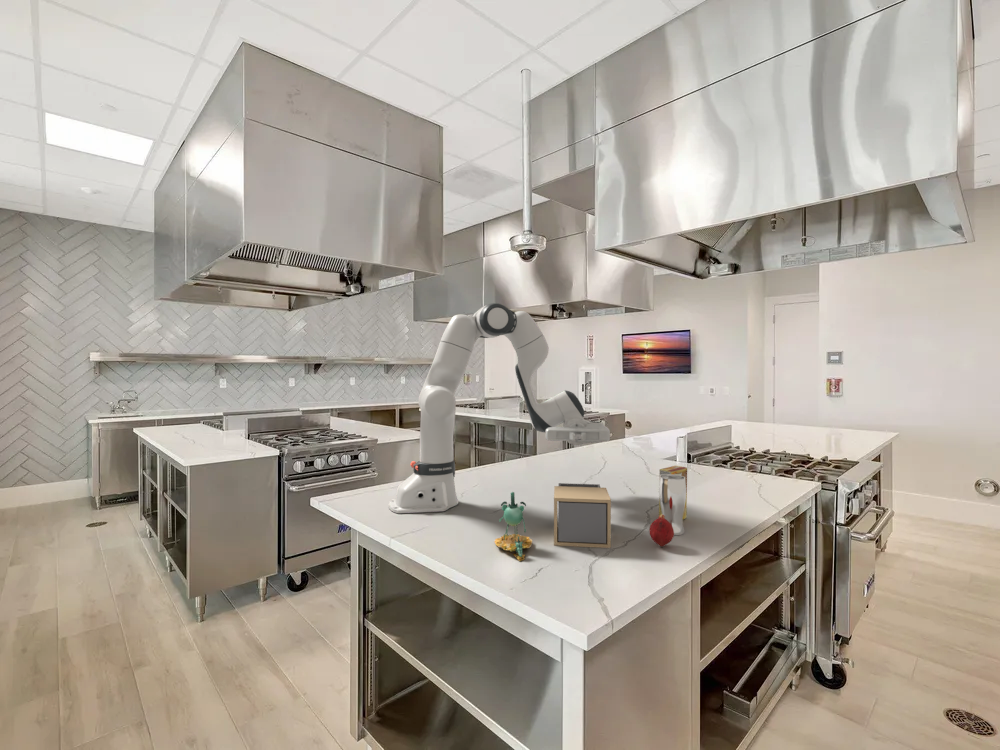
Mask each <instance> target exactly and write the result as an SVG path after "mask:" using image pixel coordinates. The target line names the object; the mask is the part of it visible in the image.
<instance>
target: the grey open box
mask: <svg viewBox="0 0 1000 750" xmlns="http://www.w3.org/2000/svg"><path fill="white" fill-rule="evenodd" d="M558 486H567V487H600V488H602V487H601V486H600V484H598V483H597V484H595V483H591V484H590V483H569V482H568V483H566V482H565V483H561V482H559V483H558ZM557 526H558V541H564V542H586V543H606V503H594V502H565V501H557Z"/></svg>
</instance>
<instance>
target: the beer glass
mask: <svg viewBox="0 0 1000 750" xmlns="http://www.w3.org/2000/svg"><path fill="white" fill-rule="evenodd" d="M659 475H660V474H659ZM658 486H659V487H658V500H659V499H660V506H661V511H662V514H663V515H664V516H665V517H664V518H665V519H666V520H667V521H669V522H670V524H671V525H672V527H673V530H674V536H681V535H684V533H685V529H684V522H683V521H684V519H683V512H684V507H685V501H686V483H685V477H684V476H680V475H674V474H663V475H660V482H659V481H658Z"/></svg>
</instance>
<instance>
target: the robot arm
mask: <svg viewBox="0 0 1000 750" xmlns="http://www.w3.org/2000/svg"><path fill="white" fill-rule="evenodd" d="M500 336H504V337H506V338H507V339H508V340H509V342H510V343H511V346H512V347H513V349H514V351H515V353H516V357H517V364H516V365H515V367H514V368H515V369H514V370H515V375H516V378H517V382H518V385H519V387H520V390H521V394H522V396H523V399H524V401H525V406H526V409H527V412H528V416H529V422H530V424H531V425H532V427H533V429H534V430H535V431H537V432H539V433H540V432H541V433H545V440H546V441H552V442H553V441H556V442H557V441H559V442H560V441H561V442H562V441H563V442H564V441H565V442H567V443H569V444H570V445H573V446H582V445H586V444H587V445H588V444H590V443H591V444H592V443H602V442H610V440H611V430H610V428H609V427H607V426H606V425H604V423H603V422H602V421H601V422H600V421H592V420H587V419H585V418H584V417H585V409H584V406H583V405H582V403H581V401H580V400H579V398H578V397H577V396H576V395H575V393H574V392H572V391H570V390H566V389H565V390H564V391H562V392H559V393H557V394H555V395H554V396H551V397H550V398H548V399H547V400H544V401H542V402H540V403H539V402H538V401H537V398H536V395H535V392H534V389H533V386H532V379H533V377H534V374H535V373H536V372H537V371H538V370H539V369H540V367H542V365H543V364H544V362H545V361H546V359H547V358H548V355H549V351H550V349H549V344H548V342H547V340H546V338H545V335H544V334H543V332H542V330H541V329H540V327H539V326H538V324H537V323H536V321H535V319H534V318H533V316H532V315H531V314H529V313H528V312H527V311H525V310H518V311H513V310H511V309H509V308H508V307H506V306H505V305H504V304H501V303H497V302H492V303H489V304H485V305H483V306H481V307H480V308H479V309H478V310H476V311H475V312H474V313H473V314H472V315H470V316H469V315H467V314H463V313H461V314H455V315H453V316H452V317H451V319H449V322H448V324H447V325H446V327H445V329H444V331H443V334H442V336H441V338H440V341H439V344H438V346H437V349H436V353H435V354H434V358H433V360H432V363H431V366H430V369H429V370H428V373H427V375H426V378H425V380H424V383H423V385H422V387H421V390H420V393H419V396H418V400H417V403H418V407H419V409H420V429H419V461H413V460H412V461H411V462H410V467H411V468H412V469H413V470H412V471H413V473H412V474H411V475H409V477H406V479H405V480H404V481H402V482H401V483H400V484H399V485H398V487H397V489H396V493H395V498H392V499H390V500H389V502H388V508H389V510H390V511H391V512H393V513H396V514H412V513H413V514H414V513H433V512H434V513H435V512H437V513H438V512H445V511H447V510H449V509H450V508H453V507H456V506H457V505H458V504H459V500H458V499H459V498H458V495H457V491H456V485H455V477H456V475H455V474H456V464H455V462H456V461H455V460H454V433H455V423H456V406H457V405H456V402H457V401H456V397H455V394H456V391H457V390H458V388H459V385H460V383H461V381H462V379H463V377H464V375H465V373H466V370H467V368H468V367H467V366H468V364H469V361H470V359H471V356H472V353H473V350H474V347H475V344H476V342H477V340H478V339H479V338H484V339H490V338H497V337H500ZM561 424H563V425H562V426H559V425H561Z"/></svg>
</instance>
